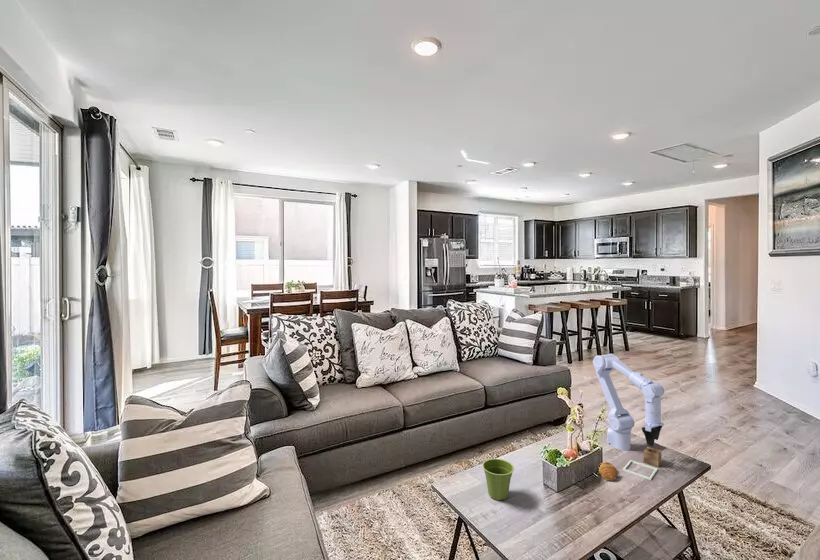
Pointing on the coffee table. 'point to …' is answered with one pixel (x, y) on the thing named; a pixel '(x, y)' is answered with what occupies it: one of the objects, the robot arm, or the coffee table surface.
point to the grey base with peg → (655, 466)
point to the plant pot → (498, 477)
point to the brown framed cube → (652, 456)
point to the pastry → (608, 471)
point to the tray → (641, 465)
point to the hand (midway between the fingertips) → (652, 442)
